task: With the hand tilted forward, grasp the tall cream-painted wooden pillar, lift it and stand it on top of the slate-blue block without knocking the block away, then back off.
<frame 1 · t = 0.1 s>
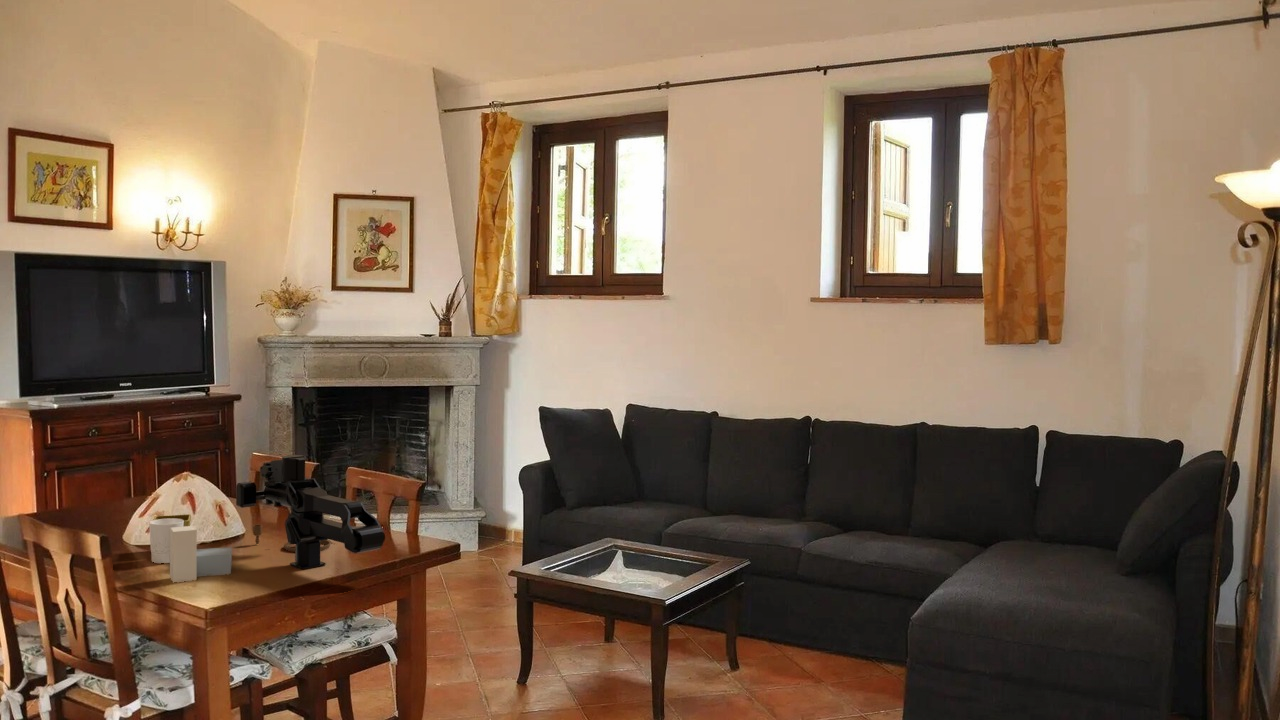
hand: (255, 487, 264), 17 cm above the table, tool horizontal, fingers open, 9 cm apart
place setting: (297, 548, 270), on the table
pillar: (183, 579, 233), on the table
white cup: (166, 561, 250), on the table
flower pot: (171, 552, 259), on the table
base block: (213, 572, 241), on the table
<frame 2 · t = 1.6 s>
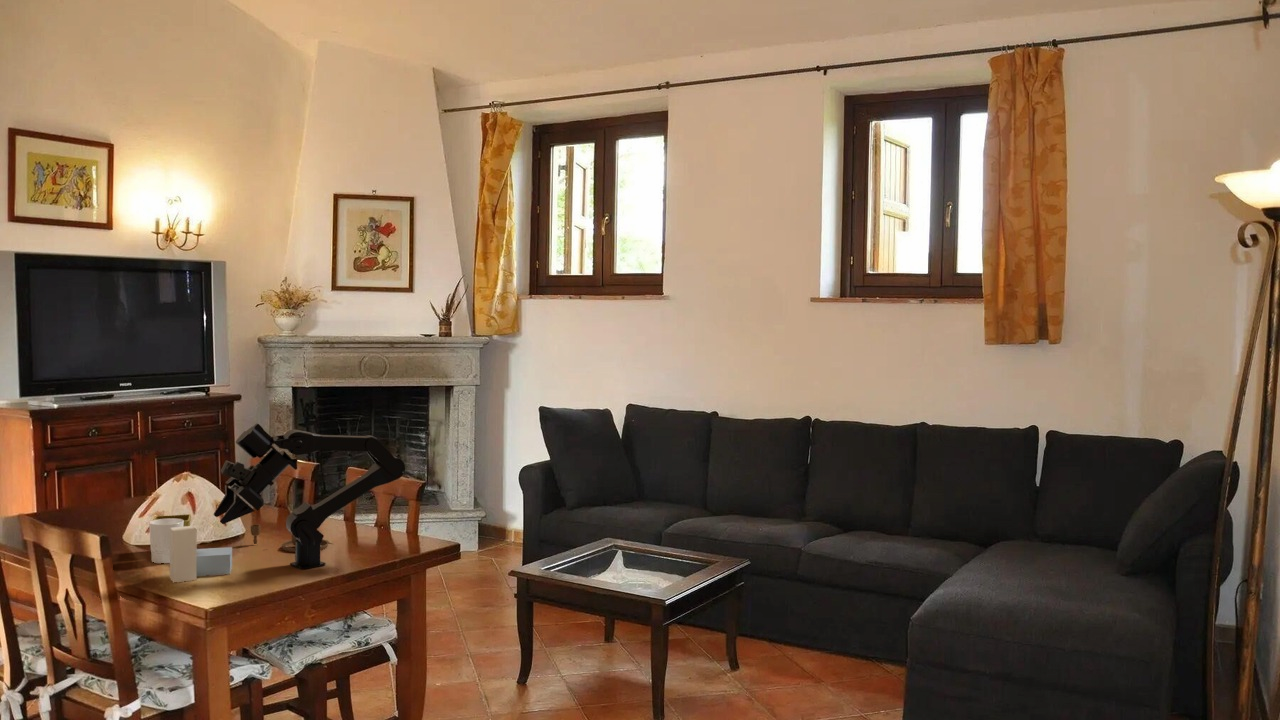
hand: (218, 519, 237), 13 cm above the table, tool tilted 45°, fingers open, 9 cm apart
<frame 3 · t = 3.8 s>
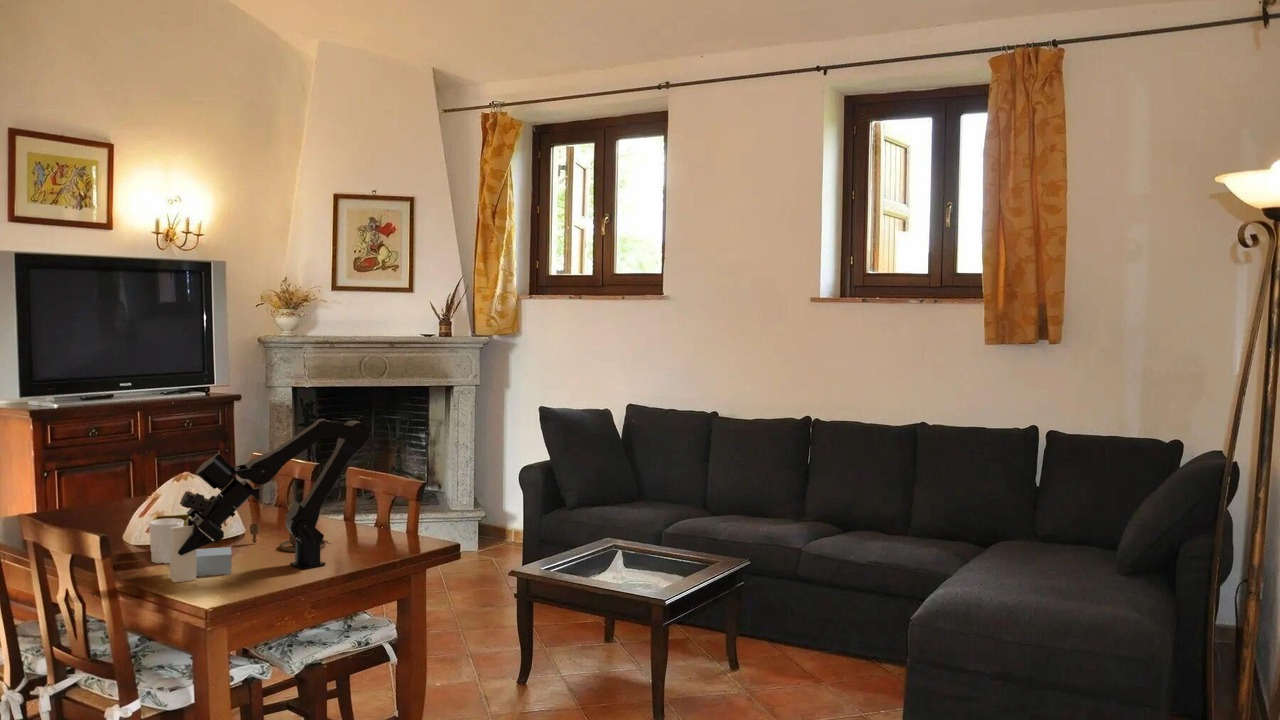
hand: (177, 551, 233), 7 cm above the table, tool tilted 45°, fingers closed on pillar, 5 cm apart
pillar: (183, 578, 233), on the table, touching gripper
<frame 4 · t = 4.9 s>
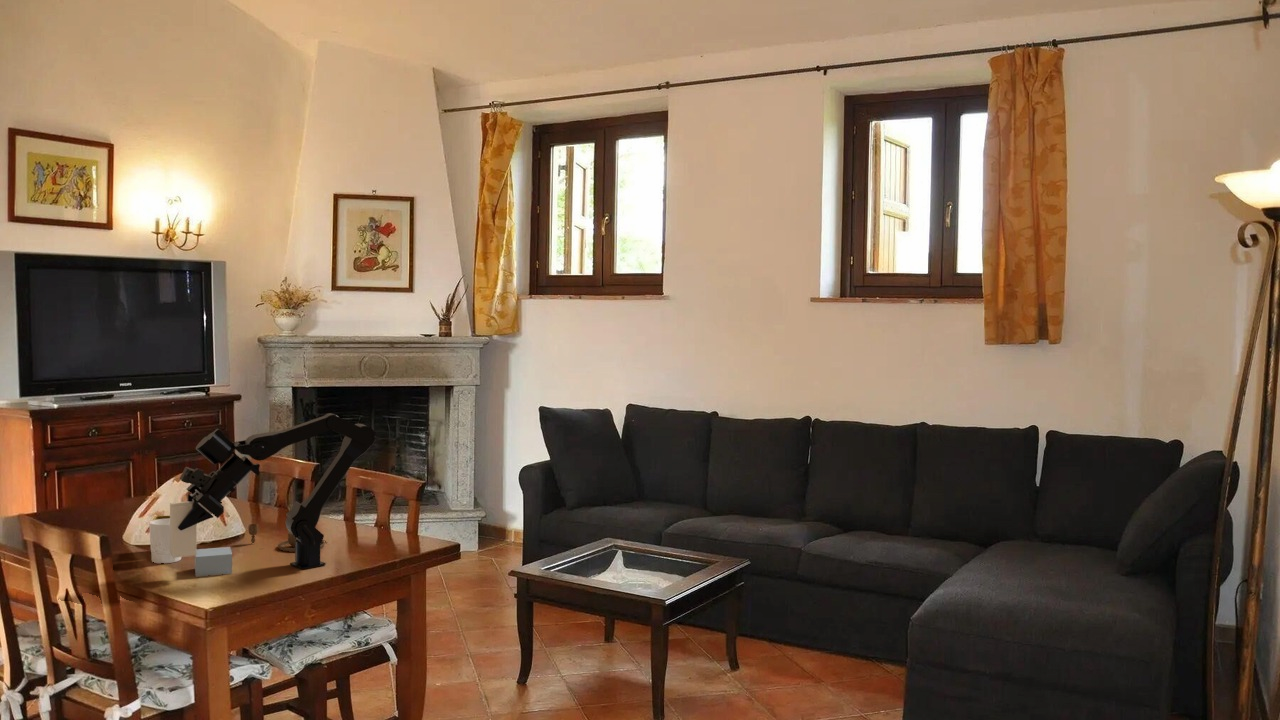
hand: (177, 526, 232), 12 cm above the table, tool tilted 45°, fingers closed on pillar, 5 cm apart
pillar: (183, 554, 233), point 6 cm above the table, touching gripper
when the fingers open (12 cm above the table, at t = 6.4 s): pillar drops 1 cm, point 5 cm above the table.
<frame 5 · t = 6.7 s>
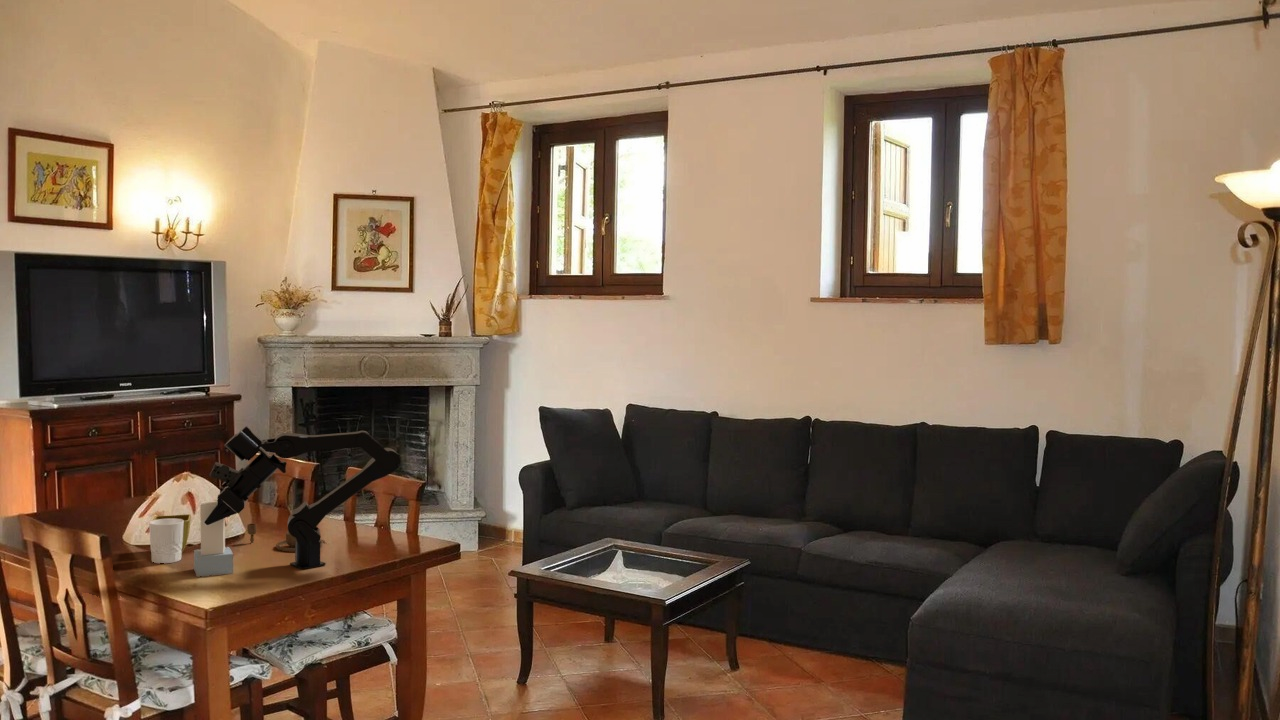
hand: (206, 520, 240), 13 cm above the table, tool tilted 45°, fingers open, 8 cm apart
pillar: (213, 551, 241), point 5 cm above the table
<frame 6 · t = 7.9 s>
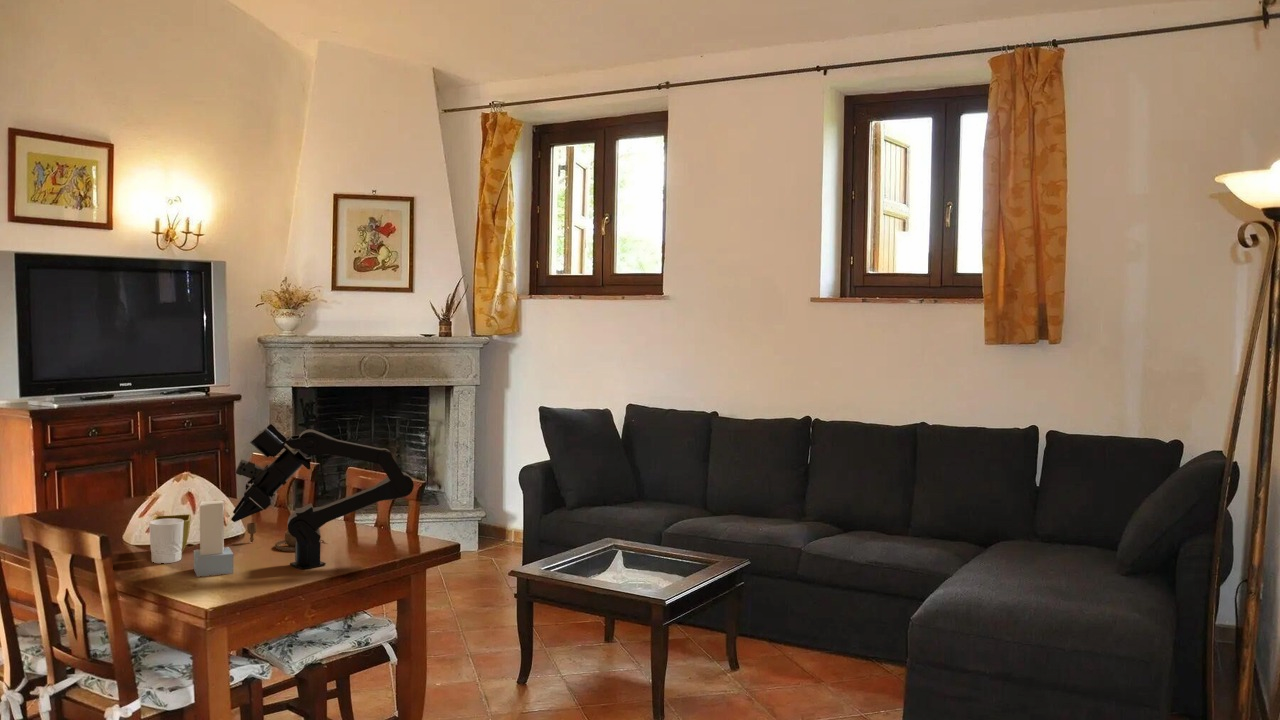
hand: (233, 517, 242), 13 cm above the table, tool tilted 45°, fingers open, 9 cm apart
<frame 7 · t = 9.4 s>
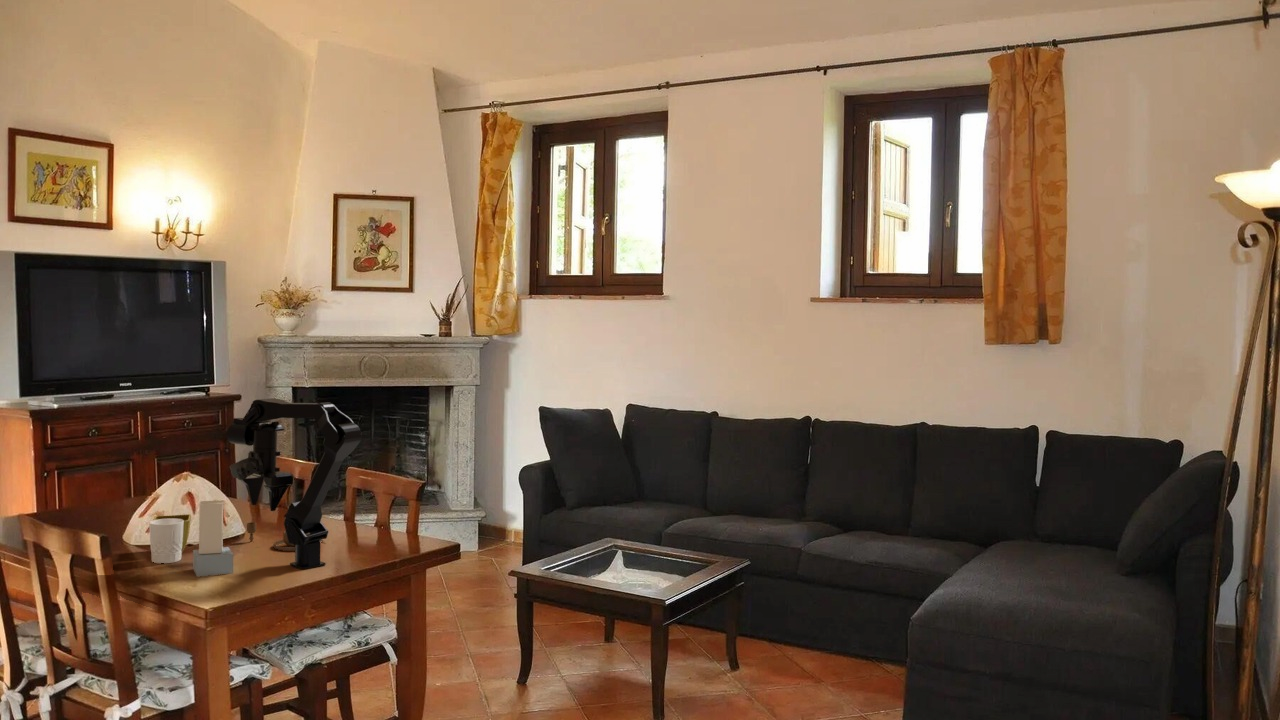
hand: (263, 507, 254), 13 cm above the table, tool pointing down, fingers open, 9 cm apart
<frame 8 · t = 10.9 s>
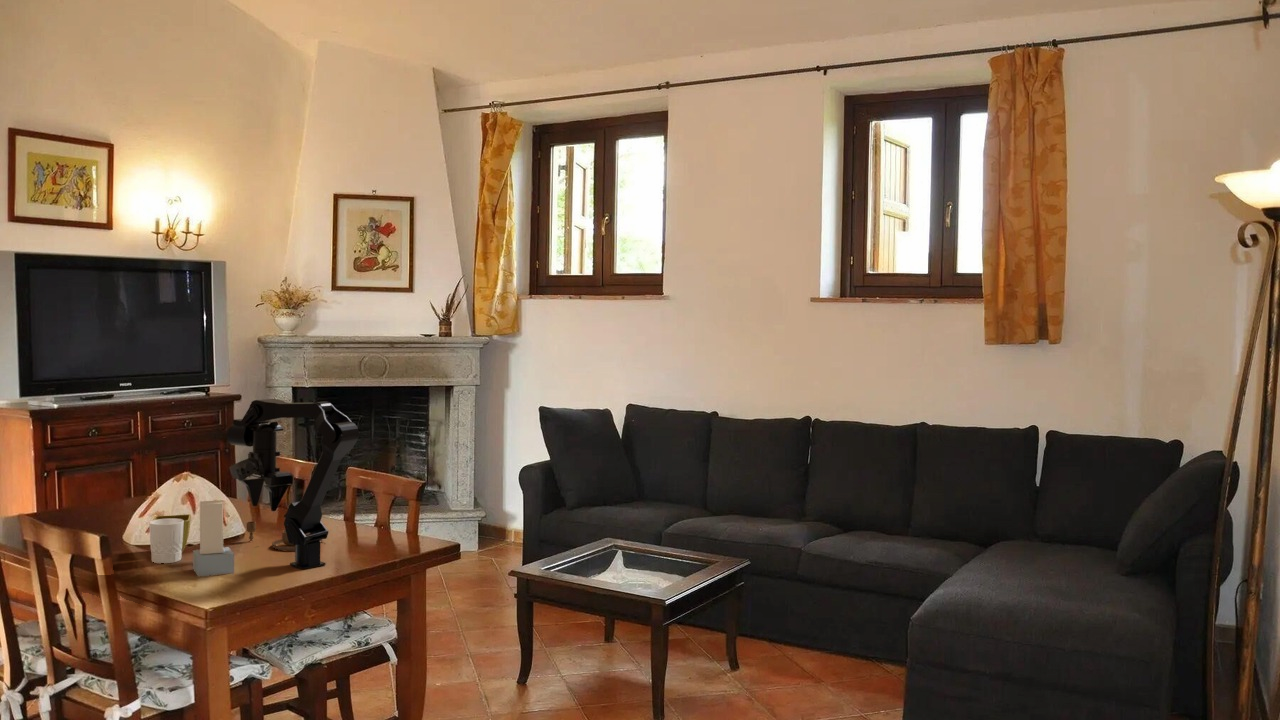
hand: (264, 508, 254), 13 cm above the table, tool pointing down, fingers open, 9 cm apart
pillar: (211, 551, 241), point 5 cm above the table, touching base block
base block: (213, 572, 241), on the table, touching pillar
at the end: pillar 0.4 cm off-centre on the base block, point 5.1 cm above the base block's base; pillar tilted 2°; base block tilted 0° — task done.
